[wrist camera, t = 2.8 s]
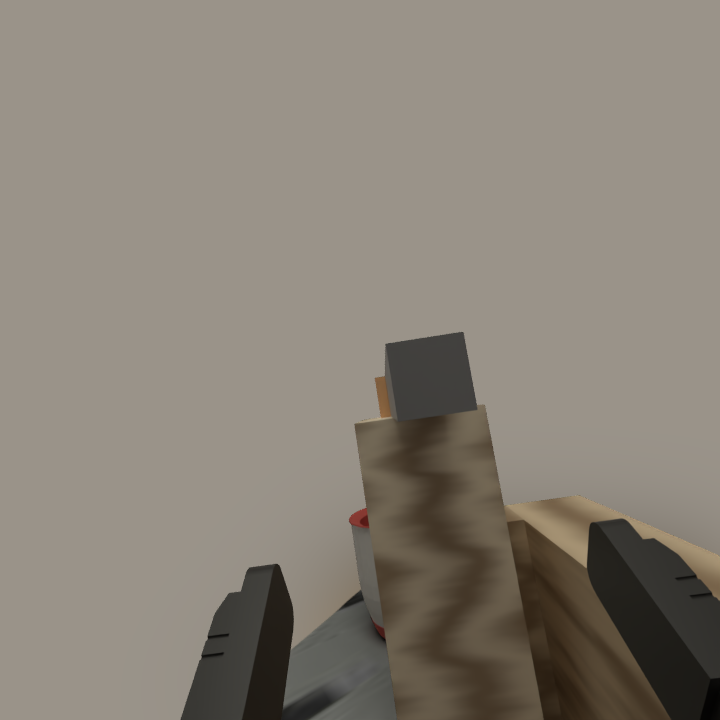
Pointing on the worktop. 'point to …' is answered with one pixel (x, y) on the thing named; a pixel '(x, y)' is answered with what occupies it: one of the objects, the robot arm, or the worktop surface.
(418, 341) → the grey and tan bar
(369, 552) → the citrus juicer
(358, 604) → the worktop surface
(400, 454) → the stand
